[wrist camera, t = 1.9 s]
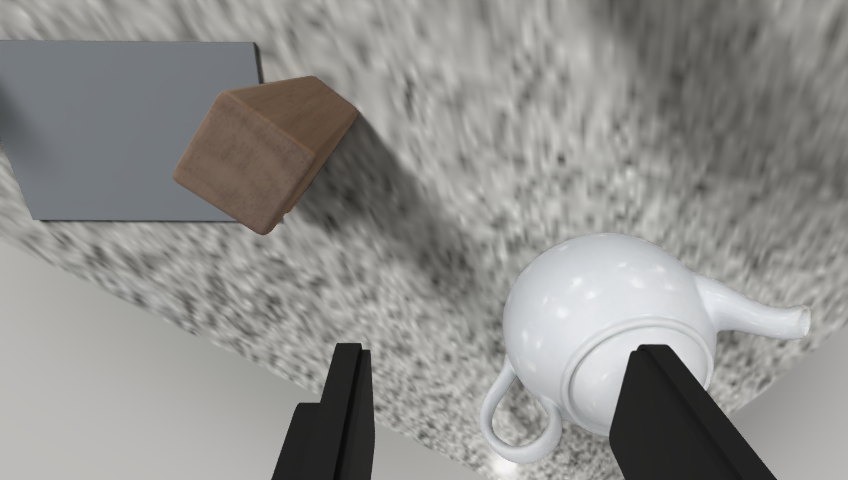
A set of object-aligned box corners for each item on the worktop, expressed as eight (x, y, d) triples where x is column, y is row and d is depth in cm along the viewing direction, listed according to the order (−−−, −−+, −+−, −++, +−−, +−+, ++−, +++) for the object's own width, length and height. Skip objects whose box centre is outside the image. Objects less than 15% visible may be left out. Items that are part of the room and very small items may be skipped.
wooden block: (299, 199, 37) (213, 314, 20) (251, 166, 35) (117, 261, 19) (361, 111, 34) (321, 159, 17) (311, 73, 33) (218, 86, 16)
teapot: (521, 198, 37) (571, 279, 25) (718, 238, 39) (855, 332, 27) (467, 365, 45) (484, 489, 33) (633, 393, 47) (708, 520, 35)
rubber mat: (254, 42, 32) (253, 42, 32) (280, 219, 38) (278, 221, 38) (-35, 39, 32) (-40, 40, 31) (36, 217, 38) (33, 219, 37)
